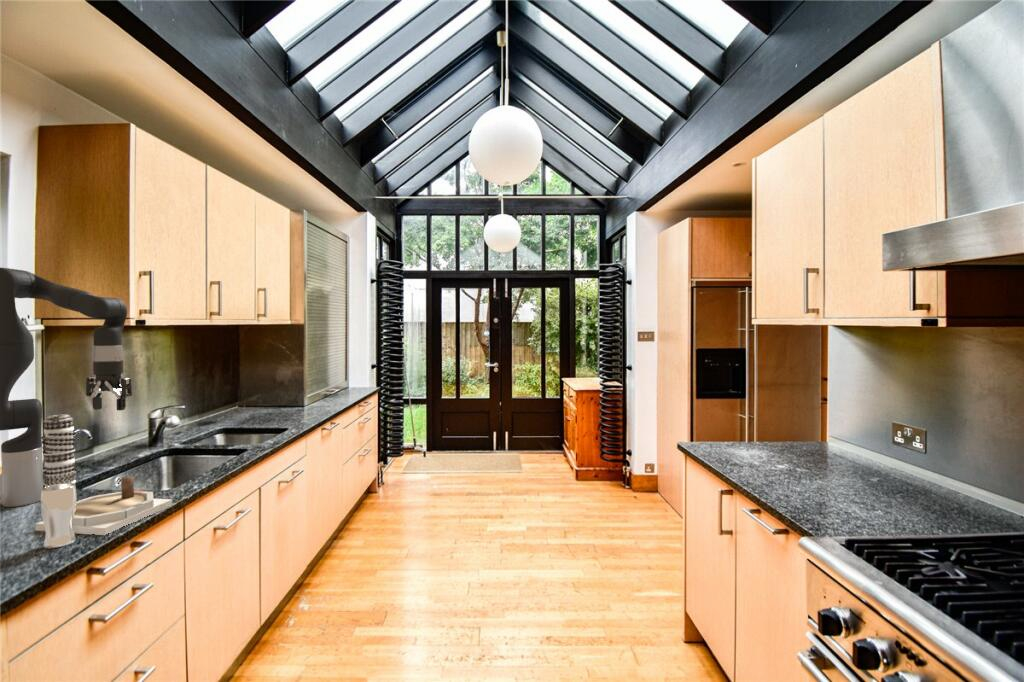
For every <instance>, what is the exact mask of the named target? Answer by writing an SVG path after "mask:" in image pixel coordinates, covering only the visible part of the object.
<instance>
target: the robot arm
mask: <svg viewBox="0 0 1024 682" xmlns="http://www.w3.org/2000/svg"><path fill="white" fill-rule="evenodd" d="M16 299H37V300H43V301H48V302H50V303H52V304H53V305H55V306H57V307H59V308H62V309H66V310H70V311H72V312H76V313H80V314H82V315H84V316H86V317H88V318H91V319H96V320H103V321H104V322H103V324H102V326H99V327H95V328H94V330H93V333H92V335H93V337H92V338H93V347H92V374H93V375H94V376H92V377H86V381H85V382H86V383H85V389H86V391H85V396H87V397H90V398H91V399H92V408H93V410H94V411H95V410H96V411H97V410H102V408H103V400H102V399H103V397H102V396H103V395H104V393H105V392H111V394H114V396H115V397H116V411H124V410H125V409H126V407H127V404H126V403H127V401H126V399H127V398H129V397H132V396H133V391H132V390H133V389H132V379H131V377H122V374H123V373H124V350H123V336H122V334H123V330H124V327H125V324H126V321H127V320H126V319H127V316H128V307H127V305H126V303H125V301H123V300H122V299H120V298H118V297H106V296H105V297H104V296H96V295H94V294H93V293H91V292H88V291H86V290H82V289H79V288H74V287H71V286H67V285H61V284H59V283H55V282H53V281H50V280H48V279H45V278H43V277H42V276H39V275H37V274H35V273H33V272H30V271H28V270H23V269H14V268H9V267H8V268H7V267H0V431H11V430H19V429H26V428H27V429H26V430H25V431H24V432H22V433H21V434H20V435H17V436H15V437H13V438H10V439H8V440H5V441H3V442H2V443H1V444H0V445H1V446H0V455H1V456H0V457H1V474H0V505H1V506H3V507H6V508H9V507H10V508H13V507H20V506H22V507H23V506H26V505H31V504H33V503H37V502H40V500H41V489H42V488H44V469H43V468H44V466H43V448H42V447H43V444H42V441H43V440H42V437H43V435H42V426H43V423H42V422H43V405H42V402H41V400H40V399H38V398H27V399H24V398H23V399H14V400H13V399H12V400H9V398H10V393H11V391H12V389H13V387H14V386H15V385H16V383H17V381H18V380H19V379H20V377H21V376H22V375H23V374H24V373H25V371H27V369H28V368H29V367H30V366H31V364H32V363H33V362H34V358H35V344H34V338H33V335H32V333H31V332H30V330H29V329H28V327H27V326H26V325H25V323H24V322H23V321H22V319H21V318H20V316H19V314H18V312H17V308H16Z"/></svg>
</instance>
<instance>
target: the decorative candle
mask: <svg viewBox="0 0 1024 682" xmlns="http://www.w3.org/2000/svg"><path fill="white" fill-rule="evenodd" d="M42 422H43V423H44V429H43V435H42V455H44V458H45V459H44V460H45V461H44V466H43V487H44V486H45V487H47V486H51V485H55V484H61V483H75V484H76V483H77V480H76V479H77V476H76V475H77V472H76V471H75V470H76V469H77V467H76V465H77V463H76V462H75V461H76V460H75V459H76V458H75V453H74V452H75V451H76V449H77V448H76V447H74V446H75V445H76V444H77V442H76V440H77V438H76V437H74V436H75V435H77V432H75V431H77V428H75V426H74V417H72V416H71V415H70V414H67V413H66V414H65V413H64V414H61V413H60V414H53V415H52V414H51V415H49V416H47V417H46V418H45V420H42Z"/></svg>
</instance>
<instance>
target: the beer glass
mask: <svg viewBox="0 0 1024 682" xmlns="http://www.w3.org/2000/svg"><path fill="white" fill-rule="evenodd" d="M77 496H78V493H77V488H76V482H75V483H61V484H55V485H51V486H47V487H44V486H43V488H42V489H41V500H40V501H39V502H40V503H39V505H40V513H41V514H40V515H41V518H42V521H43V522H44V526H45V531H44V532H45V538H44V541H43V548H45V549H55V548H61V547H62V548H63V547H65V546H68V545H70V544H72V543H74V542H75V541H76V539H77V537H76V535H75V534H76V533H74V530H73V523H74V518H75V513H76V506H77V501H78V497H77Z"/></svg>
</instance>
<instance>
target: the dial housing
mask: <svg viewBox="0 0 1024 682" xmlns="http://www.w3.org/2000/svg"><path fill="white" fill-rule="evenodd" d="M119 495H122V491H117V492H111V493H105V494H98V495H92V496H88V497H86V498H82V499H80V500H77V506H78V505H80V504H83V503H86V502H89V501H92V500H96V499H100V498H105V497H111V496H119ZM134 495H139V496H142V497H144V502H142V503H138V504H136V505H133V506H132V507H129V508H127V509H124V510H120V511H114V512H109V513H103V514H98V515H92V516H78V515H75V518H74V523H73V530H74V534H81V535H92V534H95V535H94V536H107V535H109V534H111V533H113V531H114V532H116V531H118V530H120V529H119V528H121V527H123V526H125V527H127V526H129V525H128V524H130V525H131V523H132V524H134V523H136V522H138V520H139V521H141V520H143V519H145V518H147V516H148V517H150V516H152V515H154V514H157V513H159V512H161V511H163V510H166V509H167V508H170V507H172V506H173V499H170V498H169V499H167V498H154V491H146V490H134ZM149 515H150V516H149ZM144 517H145V518H144ZM142 518H143V519H142ZM140 519H141V520H140ZM133 522H134V523H133ZM126 525H127V526H126ZM123 528H124V527H123ZM117 529H118V530H117ZM121 529H122V528H121ZM115 530H116V531H115ZM36 531H37V532H46V531H45V526H44V522H43V520H42V521H39V522H35V532H36ZM108 533H109V534H108ZM106 534H107V535H106Z"/></svg>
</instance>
